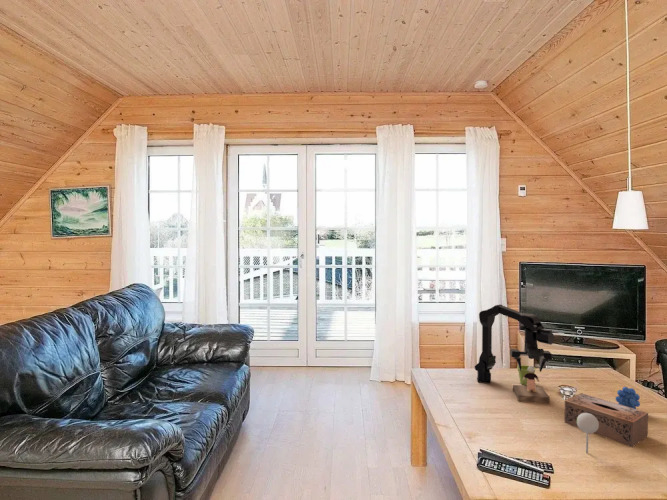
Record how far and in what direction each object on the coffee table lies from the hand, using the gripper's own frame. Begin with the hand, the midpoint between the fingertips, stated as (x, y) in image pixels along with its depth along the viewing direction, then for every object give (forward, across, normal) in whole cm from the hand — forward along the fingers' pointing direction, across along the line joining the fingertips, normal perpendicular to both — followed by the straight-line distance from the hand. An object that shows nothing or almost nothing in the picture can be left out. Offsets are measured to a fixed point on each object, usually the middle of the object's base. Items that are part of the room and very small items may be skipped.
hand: (530, 370), depth 214 cm
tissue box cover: (+13, +22, -32) cm, 41 cm away
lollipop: (+13, +8, -54) cm, 56 cm away
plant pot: (+13, +2, +18) cm, 23 cm away
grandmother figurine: (+10, 0, -1) cm, 10 cm away
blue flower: (+13, +39, -13) cm, 43 cm away
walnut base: (+13, 0, -1) cm, 13 cm away
